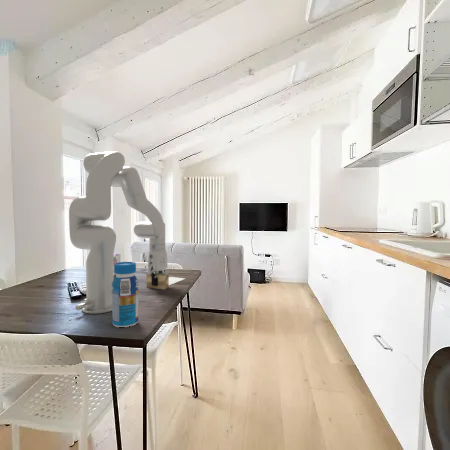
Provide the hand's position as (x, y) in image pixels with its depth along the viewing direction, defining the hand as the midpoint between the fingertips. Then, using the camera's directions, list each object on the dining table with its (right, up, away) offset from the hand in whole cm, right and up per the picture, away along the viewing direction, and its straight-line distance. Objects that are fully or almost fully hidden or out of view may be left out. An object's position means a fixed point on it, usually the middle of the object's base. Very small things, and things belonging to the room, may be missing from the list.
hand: (157, 284), depth 143 cm
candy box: (-22, -2, -5) cm, 23 cm away
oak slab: (0, -2, 0) cm, 2 cm away
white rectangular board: (+4, -1, +13) cm, 13 cm away
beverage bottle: (0, -4, -47) cm, 47 cm away
